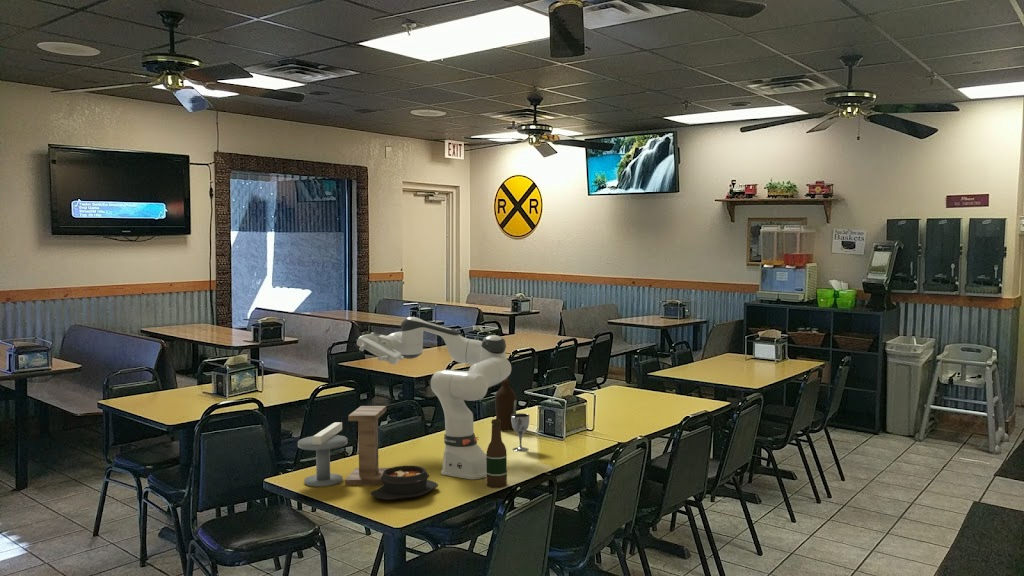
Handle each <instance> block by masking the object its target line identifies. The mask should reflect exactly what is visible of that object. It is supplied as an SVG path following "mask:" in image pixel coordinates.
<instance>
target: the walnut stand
mask: <svg viewBox="0 0 1024 576" xmlns="http://www.w3.org/2000/svg"><path fill="white" fill-rule="evenodd" d="M386 412H387V406H386V405H360V406H359V407H358V408H356V409H355V410H354V411H352V412H351V413H350V414H348V418H347V419H348V420H347V421H348V422H357V433H358V434H357V435H358V436H357V437H358V440H357V441H358V467H355V468H354V470H352V471H351V473H349V475H348V476H347V477H346V478H345V479H344V486H383V482H382V481H381V479H380V478H381V477H382V475H383V472H384V471H385V470H386V469H389V468H390V467H380V466H379V430H378V429H379V427H378V426H379V418H380V417H381V416H383V415H384V414H385V413H386Z"/></svg>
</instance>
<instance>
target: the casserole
mask: <svg viewBox="0 0 1024 576" xmlns="http://www.w3.org/2000/svg"><path fill="white" fill-rule="evenodd" d="M388 468H389V469H386V470H385V471H384V472H383V475H382V477H381V478H380V479H381V481H382V482H383V485H381V486H380V487H379V488H377V489H375V490H372V491H371V492H370V495H371V496H372V497H374V498H376V499H379V500H384V501H385V500H386V501H390V500H397V499H398V500H409V499H415V498H417V497H420V496H422V495H425V494H428V493H429V492H430V491H432V490H434V489H436V488H438V487H439V484H438V483H437V482H436V481H433V480H429V478H430V474H429V473H428V472H427V469H426V468H425V467H423V466H418V465H399V466H393V467H392V466H391V467H388Z"/></svg>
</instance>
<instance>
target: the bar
mask: <svg viewBox="0 0 1024 576" xmlns="http://www.w3.org/2000/svg"><path fill="white" fill-rule="evenodd" d="M342 430H343V422H342V421H341V422H339V421H337V422H333V423H331V424H330V425H328V426H326V427H325V428H324V429H322V430H320V431H319V432H317V433H316V434H314V435H312V436H313V444H319V445H321V444H322V443H324V442H325V441H327V440H328V439H330V438H331V437H333V436H334V435H338V433H339V432H342Z"/></svg>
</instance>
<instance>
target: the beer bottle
mask: <svg viewBox="0 0 1024 576" xmlns="http://www.w3.org/2000/svg"><path fill="white" fill-rule="evenodd" d="M490 423H491V439H490V442H489V444H488V446H487V449H486V461H487V477H486V486H487V487H489V488H493V489H496V488H499V489H502V488H503V487H504V488H505V487H507V481H508V472H507V471H508V467H507V466H508V465H507V464H508V462H507V461H508V459H507V458H508V457H507V455H508V454H507V447H506V445H505V443H504V442H503V440H502V431H501V427H500V423H501V420H499V419H496V418H493V419H492V420H491V421H490Z"/></svg>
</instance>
